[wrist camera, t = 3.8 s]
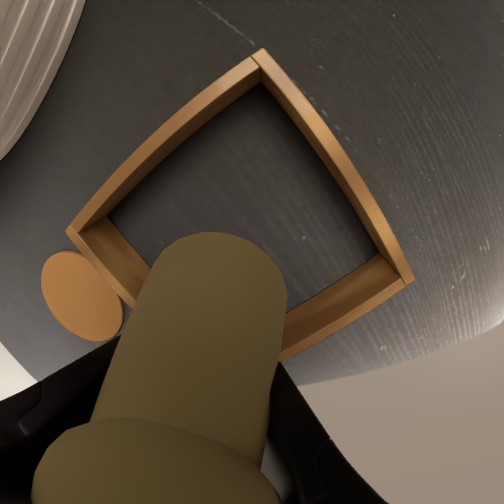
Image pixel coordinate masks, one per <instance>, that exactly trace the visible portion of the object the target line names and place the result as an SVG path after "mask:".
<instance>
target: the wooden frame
mask: <svg viewBox="0 0 504 504" xmlns="http://www.w3.org/2000/svg"><path fill="white" fill-rule="evenodd" d="M260 82H262V83H263V84H264V86H265V87H266V88H267V89H268V90H269V91H270V93H271V94H272V95H273V96H274V98H275V99H276V100H277V101H278V102H279V104H280V105H281V106H282V107H283V109H284V110H285V111H286V113H287V114H288V115H289V116H290V118H291V119H292V120H293V122H294V123H295V124H296V125H297V127H298V128H299V129H300V131H301V132H302V133H303V135H304V136H305V137H306V139H307V140H308V142H309V143H310V144H311V146H312V147H313V148H314V150H315V151H316V153H317V154H318V155H319V157H320V158H321V160H322V161H323V163H324V164H325V165H326V167H327V168H328V170H329V171H330V173H331V174H332V176H333V177H334V179H335V180H336V182H337V183H338V185H339V186H340V188H341V189H342V191H343V192H344V194H345V195H346V197H347V198H348V200H349V202H350V203H351V205H352V206H353V208H354V210H355V211H356V213H357V214H358V216H359V218H360V219H361V221H362V223H363V224H364V226H365V228H366V229H367V231H368V233H369V234H370V236H371V238H372V240H373V241H374V243H375V245H376V247H377V248H378V250H379V252H380V253H379V254H377V255H376V256H374V257H373V258H371V259H370V260H368V261H367V262H366V263H364V264H363V265H361V266H360V267H358V268H357V269H355V270H354V271H352V272H351V273H349V274H348V275H346V276H345V277H343V278H342V279H340V280H339V281H337V282H336V283H334V284H333V285H331V286H329V287H328V288H326V289H325V290H323V291H322V292H320V293H319V294H317V295H315V296H314V297H312V298H311V299H309V300H307V301H306V302H304V303H303V304H301V305H299V306H298V307H296V308H294V309H293V310H291V311H290V312H288V313H286V314H285V322H284V329H283V337H282V344H281V351H280V358H279V361H280V362H282V361H284V360H286V359H288V358H290V357H292V356H293V355H295V354H297V353H299V352H301V351H303V350H305V349H306V348H308V347H310V346H312V345H314V344H315V343H317V342H319V341H321V340H322V339H324V338H326V337H328V336H329V335H331V334H333V333H334V332H336V331H338V330H339V329H341V328H343V327H344V326H346V325H348V324H349V323H351V322H353V321H354V320H356V319H357V318H359V317H361V316H362V315H364V314H365V313H367V312H368V311H370V310H371V309H373V308H375V307H376V306H378V305H379V304H381V303H382V302H384V301H385V300H387V299H388V298H390V297H391V296H392V295H394V294H395V293H397V292H398V291H400V290H401V289H403V288H404V287H405V285H406V286H407V285H408V284H410V283H411V282H412V281H414V280H415V277H414V274H413V272H412V270H411V268H410V266H409V264H408V262H407V260H406V258H405V255H404V253H403V251H402V249H401V247H400V245H399V243H398V242H397V240H396V238H395V236H394V234H393V232H392V230H391V228H390V226H389V224H388V223H387V221H386V219H385V217H384V215H383V213H382V212H381V210H380V208H379V206H378V205H377V203H376V201H375V199H374V198H373V196H372V194H371V193H370V191H369V189H368V188H367V186H366V184H365V183H364V181H363V179H362V178H361V176H360V175H359V173H358V171H357V170H356V168H355V167H354V165H353V164H352V162H351V160H350V159H349V157H348V156H347V154H346V153H345V151H344V150H343V148H342V147H341V145H340V144H339V142H338V141H337V140H336V138H335V137H334V135H333V134H332V132H331V131H330V130H329V128H328V127H327V125H326V124H325V123H324V121H323V120H322V119H321V117H320V116H319V114H318V113H317V112H316V110H315V109H314V108H313V106H312V105H311V104H310V103H309V101H308V100H307V99H306V97H305V96H304V95H303V94H302V92H301V91H300V90H299V89H298V87H297V86H296V85H295V84H294V82H293V81H292V80H291V79H290V78H289V76H288V75H287V74H286V73H285V72H284V70H283V69H282V68H281V67H280V66H279V65H278V64H277V62H276V61H275V60H274V59H273V58H272V57H271V56H270V54H269V53H268V52H267V51H266V50H265V49H264V48H262V49H260V50H259V51H257V52H256V53H254V54H253V55H251V57H248V58H246V59H245V60H244V61H242V62H241V63H239V64H238V65H236V66H235V67H234V68H232V69H231V70H229V71H228V72H227V73H225V74H224V75H223V76H221V77H220V78H219V79H217V80H216V81H215V82H213V83H212V84H211V85H209V86H208V87H207V88H205V89H204V90H203V91H202V92H200V93H199V94H198V95H197V96H195V97H194V98H193V99H192V100H191V101H189V102H188V103H187V104H186V105H185V106H183V107H182V108H181V109H180V110H179V111H177V112H176V113H175V114H174V115H173V116H172V117H171V118H169V119H168V120H167V121H166V122H165V123H164V124H163V125H162V126H161V127H159V128H158V129H157V130H156V131H155V132H154V133H153V134H152V135H151V136H150V137H149V138H148V139H147V140H146V141H145V142H144V143H143V144H142V145H140V146H139V147H138V148H137V149H136V150H135V151H134V152H133V153H132V154H131V155H130V156H129V158H128V159H127V160H126V161H125V162H124V163H123V164H122V165H121V166H120V167H119V168H118V169H117V170H116V171H115V172H114V173H113V174H112V175H111V177H110V178H109V179H108V180H107V181H106V182H105V183H104V184H103V185H102V187H101V188H100V189H99V190H98V191H97V192H96V193H95V195H94V196H93V197H92V198H91V199H90V200H89V202H88V203H87V204H86V205H85V206H84V208H83V209H82V210H81V211H80V213H79V214H78V215H77V216H76V218H75V219H74V220H73V221H72V223H71V224H70V225H69V227H68V228H67V229H66V231H65V233H66V234H67V235H68V237H69V238H70V239H71V240H72V242H73V243H74V244H75V245H76V247H77V248H78V249H79V250H80V252H81V253H82V254H83V255H84V256H85V258H86V259H87V260H88V261H89V262H90V264H91V265H92V266H93V267H94V268H95V269H96V271H97V272H98V273H99V274H100V275H101V276H102V278H103V279H104V280H105V281H106V282H107V283H108V284H109V285H110V286H111V288H112V289H113V290H114V291H115V292H116V293H117V294H118V295H119V296H120V297H121V298H122V299H123V301H124V302H125V303H126V304H127V305H128V306H129V307H130V308H131V309H133V306H134V304H135V302H136V300H137V297H138V295H139V293H140V291H141V289H142V286H143V284H144V282H145V280H146V278H147V276H148V273H149V271H150V269H151V268H150V267H149V266H148V265H147V263H146V262H145V261H144V260H143V259H142V258H141V257H140V256H139V254H138V253H137V252H136V251H135V250H134V249H133V247H132V246H131V245H130V244H129V243H128V242H127V240H126V239H125V238H124V237H123V236H122V235H121V233H120V232H119V231H118V230H117V229H116V227H115V226H114V225H113V224H112V222H111V221H110V220H109V219H108V218H107V215H108V214H109V213H110V212H111V210H112V209H113V208H114V207H115V206H116V205H117V204H118V203H119V202H120V201H121V200H122V199H123V198H124V197H125V196H126V195H127V194H128V193H129V192H130V191H131V190H132V189H133V188H134V187H135V186H136V185H137V184H138V183H139V182H140V181H141V180H142V179H143V178H144V177H145V176H146V175H147V174H148V173H149V172H150V171H151V170H152V169H153V168H154V167H156V166H157V165H158V164H159V163H160V162H161V161H162V160H163V159H164V158H165V157H166V156H168V155H169V154H170V153H171V152H172V151H173V150H174V149H175V148H177V147H178V146H179V145H180V144H181V143H182V142H183V141H185V140H186V139H187V138H188V137H189V136H190V135H192V134H193V133H194V132H195V131H196V130H198V129H199V128H200V127H201V126H203V125H204V124H205V123H206V122H207V121H209V120H210V119H211V118H212V117H214V116H215V115H216V114H218V113H219V112H220V111H221V110H223V109H224V108H225V107H227V106H228V105H229V104H231V103H232V102H233V101H235V100H236V99H237V98H239V97H240V96H241V95H243V94H244V93H246V92H247V91H248V90H250V89H251V88H253V87H254V86H255V85H257V84H258V83H260Z"/></svg>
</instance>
